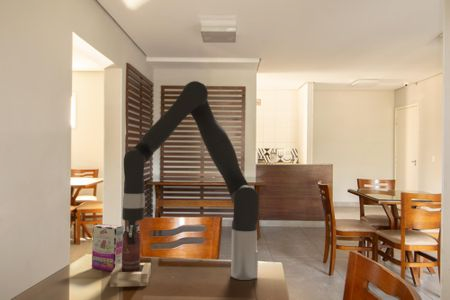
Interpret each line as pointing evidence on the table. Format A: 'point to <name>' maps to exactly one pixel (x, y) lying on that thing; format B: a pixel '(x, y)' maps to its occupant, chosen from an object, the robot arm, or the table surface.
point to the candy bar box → (107, 246)
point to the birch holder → (130, 276)
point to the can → (131, 254)
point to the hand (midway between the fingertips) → (132, 255)
